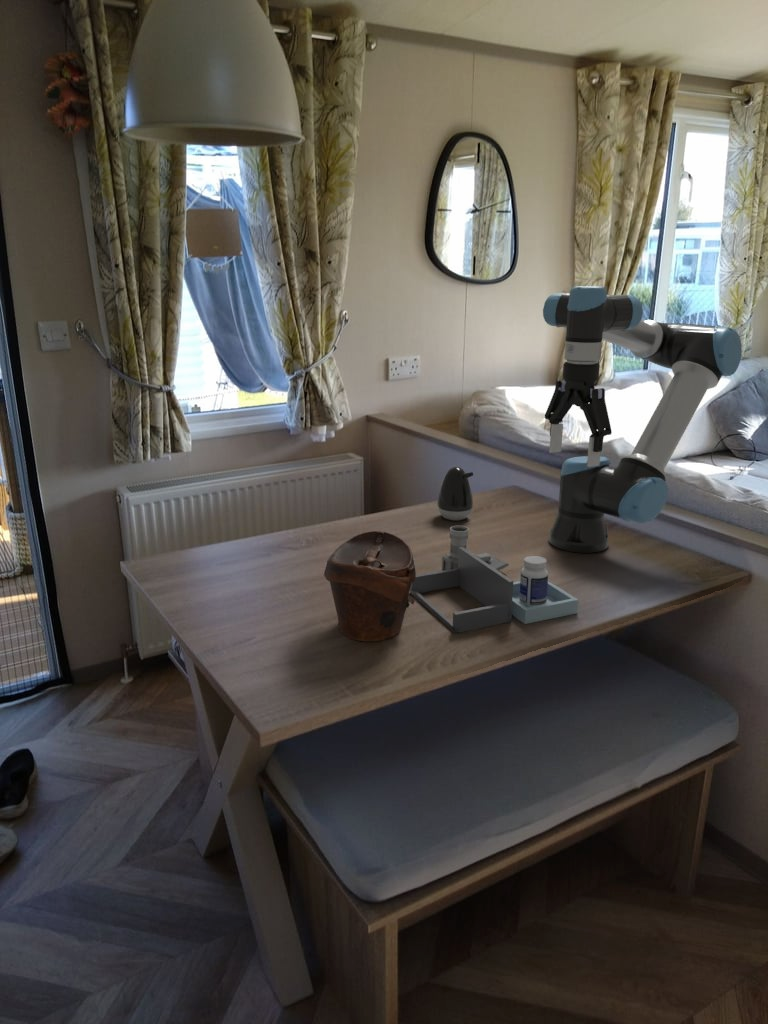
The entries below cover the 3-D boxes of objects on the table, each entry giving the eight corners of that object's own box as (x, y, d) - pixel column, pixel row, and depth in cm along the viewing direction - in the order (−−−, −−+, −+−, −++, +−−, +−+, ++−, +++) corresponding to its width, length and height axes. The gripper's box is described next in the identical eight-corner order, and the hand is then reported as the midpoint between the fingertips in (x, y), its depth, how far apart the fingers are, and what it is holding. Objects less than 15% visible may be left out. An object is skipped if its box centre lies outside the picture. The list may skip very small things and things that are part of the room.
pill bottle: (549, 600, 162) (552, 557, 159) (542, 610, 157) (545, 566, 154) (523, 595, 164) (525, 553, 161) (515, 605, 159) (518, 561, 156)
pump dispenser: (462, 526, 210) (465, 473, 205) (430, 519, 215) (432, 468, 211) (479, 516, 218) (481, 465, 213) (447, 510, 223) (449, 460, 219)
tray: (491, 599, 164) (492, 586, 163) (541, 589, 168) (542, 577, 167) (524, 624, 152) (525, 610, 151) (577, 613, 157) (578, 599, 156)
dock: (409, 592, 167) (410, 555, 164) (461, 583, 172) (462, 546, 169) (454, 633, 148) (456, 591, 145) (510, 621, 153) (513, 581, 150)
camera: (437, 525, 175) (489, 516, 182) (435, 571, 178) (486, 562, 185) (458, 536, 167) (511, 527, 174) (455, 584, 171) (508, 574, 178)
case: (346, 659, 138) (346, 568, 133) (312, 615, 155) (311, 534, 150) (432, 642, 145) (436, 556, 139) (390, 603, 162) (392, 524, 157)
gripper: (533, 356, 169) (527, 448, 175) (606, 369, 147) (595, 474, 153) (561, 354, 172) (554, 445, 178) (636, 367, 150) (625, 470, 156)
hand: (573, 458), depth 166 cm, fingers open, 13 cm apart
